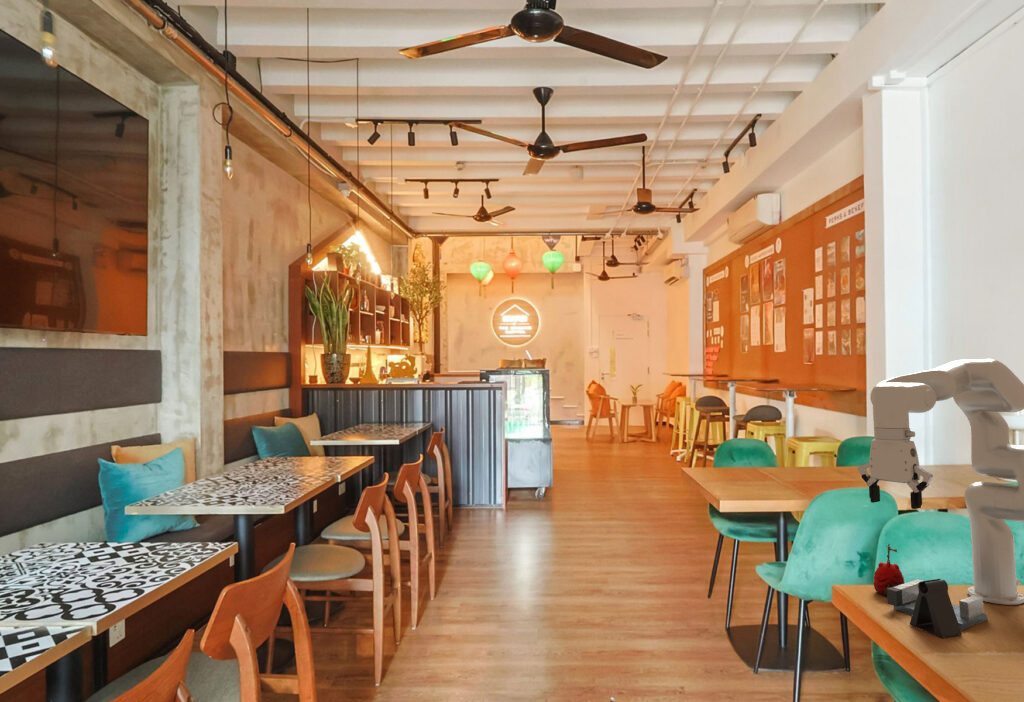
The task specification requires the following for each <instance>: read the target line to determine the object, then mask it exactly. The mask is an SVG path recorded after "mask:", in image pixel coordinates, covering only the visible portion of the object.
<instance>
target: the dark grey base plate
mask: <svg viewBox="0 0 1024 702" xmlns="http://www.w3.org/2000/svg"><path fill="white" fill-rule="evenodd" d="M916 600H917V599H916ZM916 600H913V601H910V602H908V603H905V604H903V605H901V606H898V607H896V606H893V609H894V611H898V612H902V613H904V612H905V614H908V615H911V614H913V611H914V607H915V604H916ZM958 603H959V605H958V604H957V605H956V604H953V603H952V606H953V609H954V612H955V615H956V618H957V621H958V624H959V626H960V629H961V631H963V630H965V629H967V628H971V627H973V626H976V625H978V624H980V623H983V622H985V621H987V620H988V615H987V613H985V612H984V601H983V597H979V596H975V595H973V596H970V595H969V596H968V597H965V598H962V599H961V600H958Z"/></svg>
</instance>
